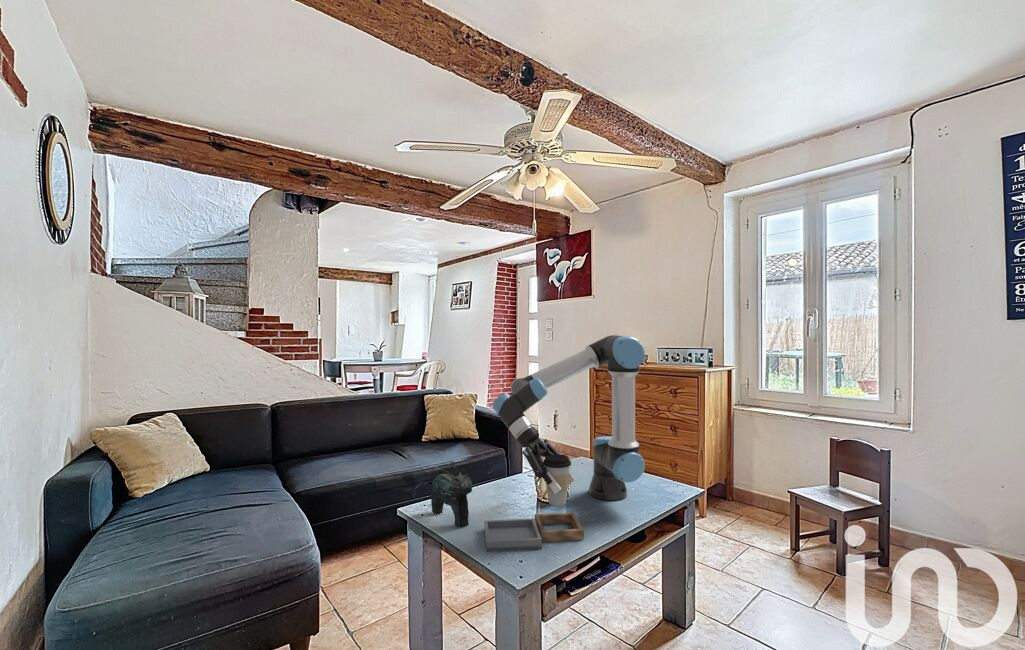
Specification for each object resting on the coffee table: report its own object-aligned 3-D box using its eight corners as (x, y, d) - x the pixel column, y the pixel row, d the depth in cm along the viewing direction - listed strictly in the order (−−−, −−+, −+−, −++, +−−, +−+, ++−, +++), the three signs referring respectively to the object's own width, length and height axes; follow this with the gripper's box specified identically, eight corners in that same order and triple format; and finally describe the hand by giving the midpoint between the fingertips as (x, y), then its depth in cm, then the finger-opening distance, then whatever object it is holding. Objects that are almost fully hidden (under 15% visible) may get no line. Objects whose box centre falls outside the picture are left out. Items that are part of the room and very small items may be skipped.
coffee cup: (549, 509, 148) (548, 463, 147) (539, 498, 157) (538, 454, 156) (576, 506, 150) (575, 460, 150) (565, 495, 159) (564, 452, 159)
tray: (534, 527, 156) (534, 518, 156) (541, 548, 141) (541, 539, 141) (484, 529, 154) (484, 520, 154) (486, 551, 140) (486, 541, 140)
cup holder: (573, 521, 161) (573, 512, 161) (583, 539, 147) (583, 530, 147) (534, 522, 160) (534, 514, 160) (541, 541, 146) (541, 532, 146)
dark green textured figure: (473, 526, 157) (474, 467, 157) (458, 532, 153) (458, 471, 153) (440, 508, 172) (441, 455, 171) (426, 513, 167) (426, 458, 167)
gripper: (534, 432, 171) (573, 483, 162) (500, 446, 153) (541, 504, 144) (546, 420, 168) (587, 470, 159) (513, 432, 150) (556, 490, 141)
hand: (565, 486), depth 152 cm, fingers closed on coffee cup, 9 cm apart
